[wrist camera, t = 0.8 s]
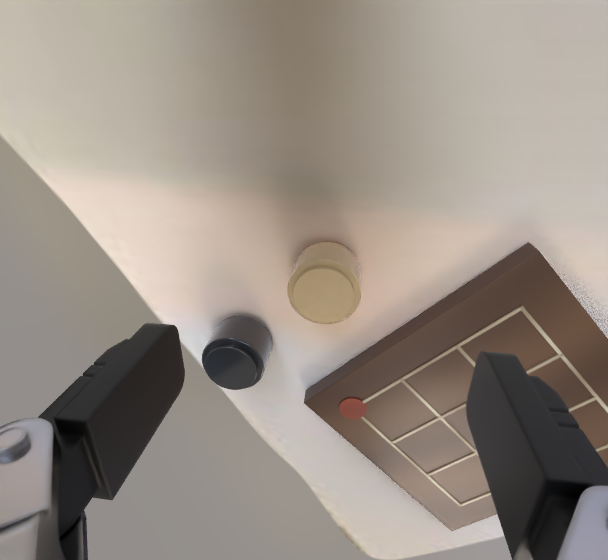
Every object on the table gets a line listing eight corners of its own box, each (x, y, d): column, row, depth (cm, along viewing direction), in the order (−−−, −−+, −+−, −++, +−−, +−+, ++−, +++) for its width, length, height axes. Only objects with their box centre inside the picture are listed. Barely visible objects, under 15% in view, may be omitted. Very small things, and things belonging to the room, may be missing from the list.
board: (305, 390, 32) (303, 404, 31) (528, 242, 24) (539, 251, 23) (448, 515, 37) (452, 532, 35) (673, 425, 29) (689, 443, 28)
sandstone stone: (282, 266, 27) (271, 293, 24) (329, 225, 25) (324, 247, 22) (325, 309, 28) (321, 340, 25) (374, 272, 26) (376, 300, 23)
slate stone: (206, 333, 31) (186, 365, 27) (242, 301, 29) (226, 331, 25) (247, 368, 32) (233, 403, 28) (285, 340, 30) (275, 373, 26)
